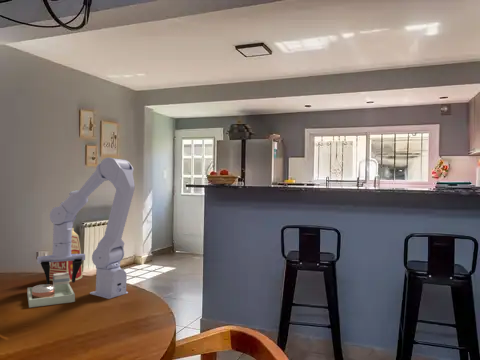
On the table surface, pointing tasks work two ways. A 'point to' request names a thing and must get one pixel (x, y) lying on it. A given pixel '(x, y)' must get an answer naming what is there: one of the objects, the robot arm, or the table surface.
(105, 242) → the robot arm
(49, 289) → the tin can
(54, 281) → the tea box
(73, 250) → the milk carton
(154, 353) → the table surface
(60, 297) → the tray
